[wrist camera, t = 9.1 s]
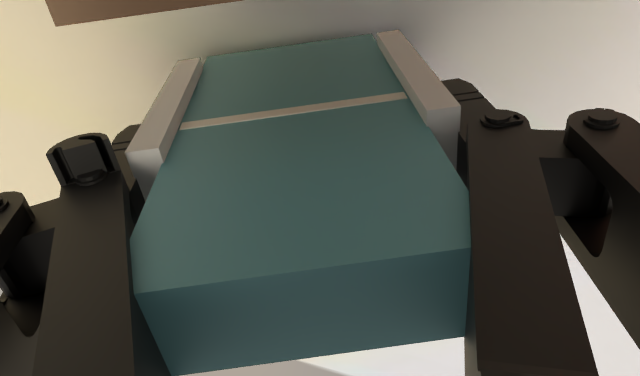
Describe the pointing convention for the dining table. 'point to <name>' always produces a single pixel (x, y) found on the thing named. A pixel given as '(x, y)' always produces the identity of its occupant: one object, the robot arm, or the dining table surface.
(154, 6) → the domino
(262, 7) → the dining table surface
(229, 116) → the domino
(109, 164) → the robot arm
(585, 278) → the dining table surface
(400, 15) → the dining table surface
